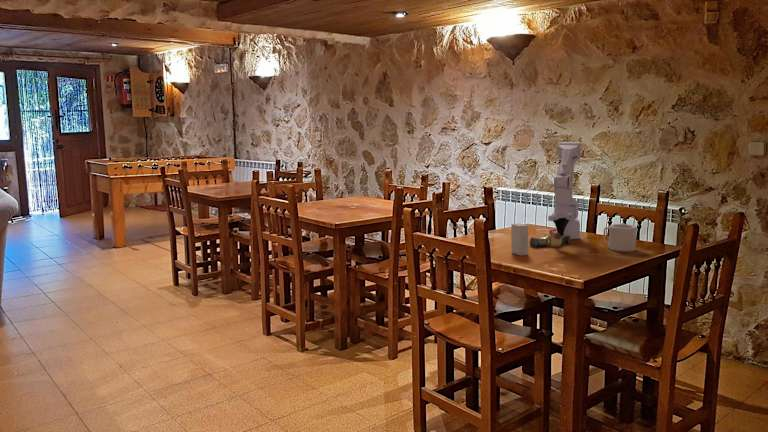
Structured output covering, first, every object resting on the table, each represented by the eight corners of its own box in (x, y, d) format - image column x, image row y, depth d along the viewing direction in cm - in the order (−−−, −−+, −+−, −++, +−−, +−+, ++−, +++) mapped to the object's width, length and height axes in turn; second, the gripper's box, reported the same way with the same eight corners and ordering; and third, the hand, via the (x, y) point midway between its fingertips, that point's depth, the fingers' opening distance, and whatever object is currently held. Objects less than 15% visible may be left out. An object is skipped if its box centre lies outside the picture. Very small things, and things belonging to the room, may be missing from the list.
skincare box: (528, 254, 247) (529, 225, 245) (519, 256, 245) (520, 226, 243) (519, 251, 252) (519, 223, 250) (510, 252, 250) (511, 223, 249)
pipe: (563, 243, 271) (564, 233, 270) (570, 245, 266) (571, 235, 265) (529, 247, 264) (529, 236, 263) (536, 249, 260) (536, 238, 259)
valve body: (555, 244, 269) (555, 233, 268) (562, 246, 264) (562, 235, 264) (541, 245, 266) (542, 234, 266) (549, 247, 262) (549, 236, 261)
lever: (548, 233, 266) (548, 228, 266) (555, 233, 266) (555, 228, 266) (554, 238, 254) (554, 234, 254) (561, 239, 254) (561, 234, 253)
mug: (639, 249, 257) (641, 225, 255) (629, 253, 249) (631, 229, 248) (608, 244, 266) (609, 222, 264) (597, 248, 258) (598, 225, 257)
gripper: (564, 201, 263) (563, 232, 265) (542, 204, 254) (541, 236, 256) (578, 203, 257) (576, 234, 260) (556, 206, 249) (555, 239, 251)
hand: (560, 236), depth 258 cm, fingers closed, pressing on lever
